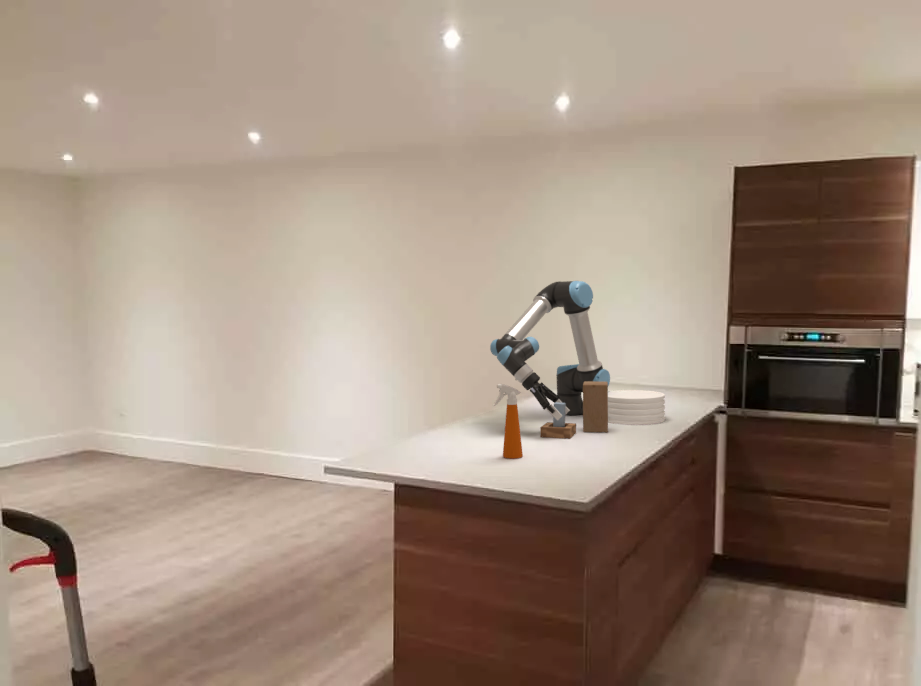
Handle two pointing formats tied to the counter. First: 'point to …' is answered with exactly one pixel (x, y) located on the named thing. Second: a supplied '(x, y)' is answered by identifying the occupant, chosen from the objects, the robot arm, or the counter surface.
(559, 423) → the tall blue pillar
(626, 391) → the plate stack
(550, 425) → the square wooden frame
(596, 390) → the wooden block
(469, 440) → the counter surface
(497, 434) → the counter surface
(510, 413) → the spray bottle
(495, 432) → the counter surface
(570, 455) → the counter surface
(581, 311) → the robot arm
